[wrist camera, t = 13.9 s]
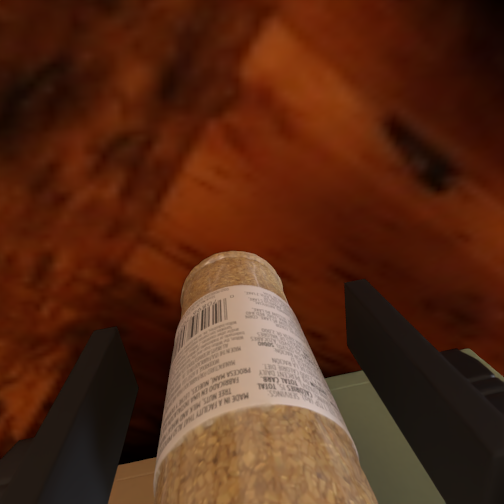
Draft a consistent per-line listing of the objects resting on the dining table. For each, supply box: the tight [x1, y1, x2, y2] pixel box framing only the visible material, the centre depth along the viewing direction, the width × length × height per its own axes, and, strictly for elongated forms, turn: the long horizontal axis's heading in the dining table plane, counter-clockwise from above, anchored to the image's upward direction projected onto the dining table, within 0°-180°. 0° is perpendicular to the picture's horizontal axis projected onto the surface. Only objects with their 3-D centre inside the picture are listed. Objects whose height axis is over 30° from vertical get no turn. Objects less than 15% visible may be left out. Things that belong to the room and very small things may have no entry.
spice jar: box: [153, 251, 378, 504], centre depth 9 cm, size 5×5×14 cm
